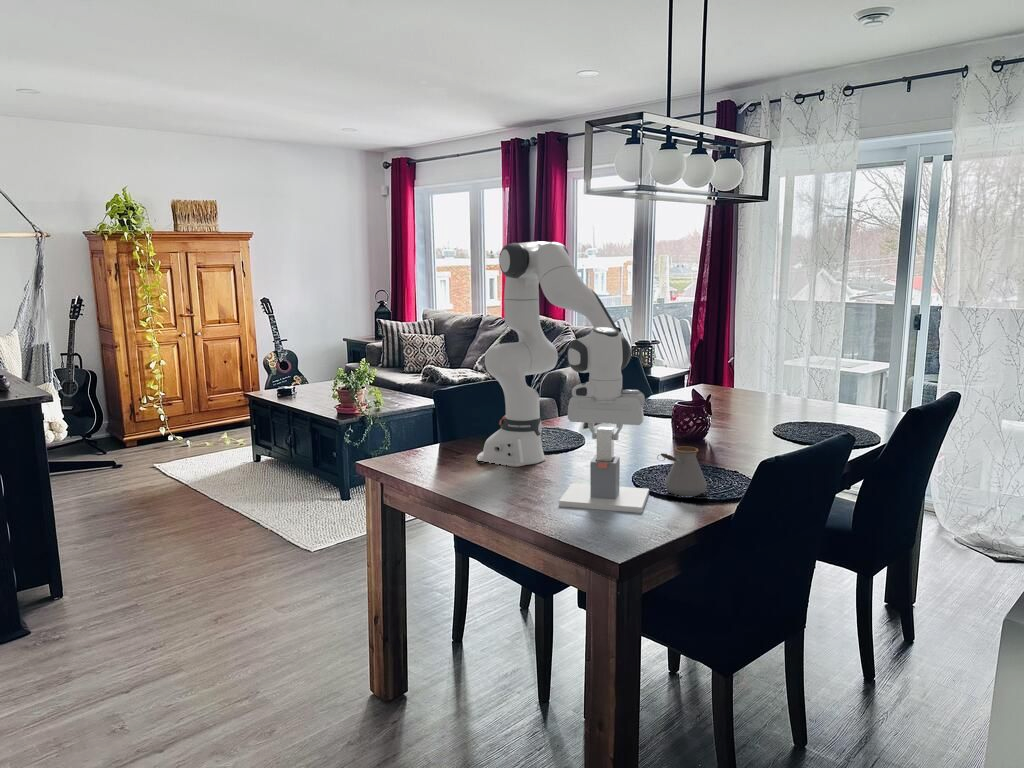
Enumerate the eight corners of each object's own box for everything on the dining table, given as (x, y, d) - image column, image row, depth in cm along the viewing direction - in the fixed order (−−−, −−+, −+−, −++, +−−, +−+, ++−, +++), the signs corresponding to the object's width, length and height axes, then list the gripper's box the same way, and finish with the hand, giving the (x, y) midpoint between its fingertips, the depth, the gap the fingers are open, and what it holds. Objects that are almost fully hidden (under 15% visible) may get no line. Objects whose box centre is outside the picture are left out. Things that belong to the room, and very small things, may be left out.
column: (596, 487, 199) (596, 430, 196) (598, 483, 202) (599, 426, 200) (611, 488, 197) (611, 430, 195) (613, 484, 201) (614, 427, 199)
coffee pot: (675, 485, 213) (676, 434, 210) (713, 492, 206) (715, 440, 203) (640, 505, 196) (640, 450, 194) (679, 513, 189) (681, 457, 186)
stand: (559, 506, 196) (558, 464, 194) (571, 488, 211) (571, 449, 209) (641, 513, 190) (642, 470, 188) (648, 493, 205) (649, 454, 203)
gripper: (646, 388, 195) (645, 438, 198) (571, 385, 201) (571, 434, 204) (643, 392, 189) (642, 444, 192) (566, 389, 195) (566, 439, 198)
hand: (605, 439), depth 198 cm, fingers closed on column, 4 cm apart
